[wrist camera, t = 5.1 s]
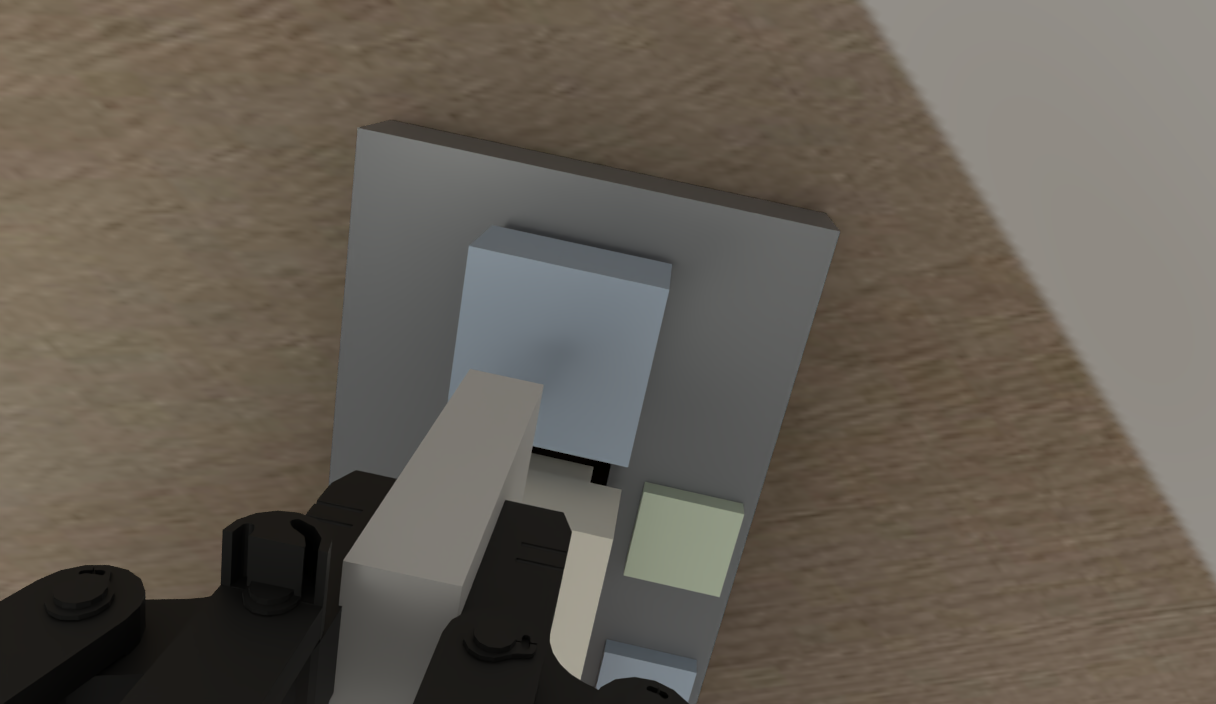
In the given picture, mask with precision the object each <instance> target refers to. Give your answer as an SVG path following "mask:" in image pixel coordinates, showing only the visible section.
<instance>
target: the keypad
mask: <svg viewBox="0 0 1216 704" xmlns="http://www.w3.org/2000/svg"><path fill="white" fill-rule="evenodd" d="M492 225H494V226H499V227H504V228H508V229H513V230H517V231H522V232H527V233H531V234H536V235H540V236H545V237H550V238H554V239H559V240H563V241H568V242H573V243H577V244H582V245H586V246H591V247H596V248H600V249H605V250H609V251H614V252H619V253H623V254H628V255H632V256H637V257H642V258H646V259H651V260H655V261H660V262H665V263H669V264H672V271H671V280H670V289H669V294H668V298H667V302H666V306H665V311H664V315H663V319H662V324H661V328H660V332H659V336H658V341H657V345H656V349H655V354H654V358H653V362H652V367H651V371H650V375H649V379H648V384H647V388H646V392H645V397H644V401H643V405H642V409H641V414H640V418H639V422H638V427H637V431H636V435H635V439H634V444H633V448H632V452H631V457H630V461H629V465H628V467H624V466H619V465H615V464H610V469H609V473H608V478H607V482H606V486H608V487H612V488H617V489H621V490H622V491H621V496H620V502H619V508H618V514H617V520H616V526H615V532H614V538H613V543H612V547H611V551H610V556H609V560H608V564H607V568H606V573H605V577H604V581H603V586H602V590H601V594H600V598H599V603H598V607H597V611H596V615H595V620H594V624H593V628H592V633H591V637H590V641H589V645H588V650H587V654H586V658H585V662H584V667H583V671H582V675H581V681H583V682H584V683H586V684H588V685H590V686H592V687H594V688H596V689H598V690H599V689H600V687H602V686H604V685H605V684H607V683H609V682H611V681H613V680H615V679H620V678H629V677H638V678H644V679H649V680H655V681H657V682H659V683H661V684H663V685H665V686H667V687H669V688H671V689H673V690H675V691H676V692H677V693H678V694H679V695H680V696H681V697H682V698H683V699H685V700H686V701H687V702H688V703H689V704H696V703H697V700H698V697H699V693H700V690H701V687H702V683H703V680H704V677H705V674H706V670H707V667H708V664H709V660H710V657H711V654H712V651H713V647H714V644H715V641H716V638H717V634H718V631H719V628H720V624H721V621H722V618H723V615H724V611H725V608H726V605H727V601H728V598H729V595H730V592H731V588H732V585H733V582H734V578H735V575H736V572H737V569H738V565H739V562H740V559H741V555H742V552H743V549H744V546H745V542H746V539H747V536H748V532H749V529H750V526H751V523H752V519H753V516H754V513H755V510H756V506H757V503H758V500H759V496H760V493H761V490H762V487H763V483H764V480H765V477H766V473H767V470H768V467H769V464H770V460H771V457H772V454H773V450H774V447H775V444H776V441H777V437H778V434H779V431H780V427H781V424H782V421H783V418H784V414H785V411H786V408H787V405H788V401H789V398H790V395H791V391H792V388H793V385H794V382H795V378H796V375H797V372H798V368H799V365H800V362H801V359H802V355H803V352H804V349H805V345H806V342H807V339H808V336H809V332H810V329H811V326H812V322H813V319H814V316H815V313H816V309H817V306H818V303H819V300H820V296H821V293H822V290H823V286H824V283H825V280H826V277H827V273H828V270H829V267H830V263H831V260H832V257H833V254H834V250H835V247H836V244H837V240H838V237H839V234H840V231H839V229H838V228H837V227H836V226H835V224H834V223H833V222H832V220H831V219H830V218H829V217H828V215H827V214H826V213H822V212H817V211H812V210H808V209H803V208H798V207H794V206H789V205H785V204H780V203H775V202H771V201H766V200H761V199H757V198H752V197H747V196H743V195H738V194H733V193H729V192H724V191H719V190H715V189H710V188H705V187H701V186H696V185H691V184H687V183H682V182H677V181H673V180H668V179H663V178H659V177H654V176H649V175H645V174H640V173H635V172H631V171H626V170H622V169H617V168H612V167H608V166H603V165H598V164H594V163H589V162H584V161H580V160H575V159H570V158H566V157H561V156H556V155H552V154H547V153H542V152H538V151H533V150H528V149H524V148H519V147H514V146H510V145H505V144H500V143H496V142H491V141H486V140H482V139H477V138H472V137H468V136H463V135H458V134H454V133H449V132H445V131H440V130H435V129H431V128H426V127H421V126H417V125H412V124H407V123H403V122H398V121H393V120H388V121H384V122H380V123H375V124H371V125H367V126H363V127H359V128H358V130H357V143H356V155H355V167H354V180H353V192H352V204H351V217H350V229H349V241H348V254H347V266H346V279H345V291H344V303H343V316H342V328H341V340H340V353H339V365H338V377H337V390H336V402H335V414H334V427H333V439H332V451H331V464H330V476H329V485H330V484H331V483H332V482H334V481H336V480H338V479H340V478H342V477H343V476H345V475H347V474H349V473H351V472H353V471H355V470H359V471H363V472H368V473H373V474H377V475H382V476H386V477H391V478H396V479H397V478H398V477H399V475H400V474H401V472H402V471H403V469H404V468H405V466H406V465H407V463H408V462H409V460H410V459H411V457H412V456H413V454H414V453H415V451H416V450H417V448H418V447H419V445H420V444H421V442H422V441H423V439H424V438H425V436H426V435H427V433H428V432H429V430H430V429H431V427H432V426H433V424H434V423H435V421H436V420H437V418H438V416H439V415H440V413H441V412H442V410H443V409H444V407H445V406H446V404H447V403H448V395H449V388H450V381H451V373H452V366H453V359H454V351H455V344H456V337H457V329H458V322H459V315H460V307H461V300H462V293H463V285H464V278H465V271H466V263H467V256H468V249H469V245H470V244H472V243H473V242H474V241H475V240H476V239H477V238H478V237H480V236H481V235H482V234H483V233H484V232H485V231H486V230H488V229H489V228H490V227H491V226H492ZM329 701H330V700H329ZM328 704H329V702H328Z"/></svg>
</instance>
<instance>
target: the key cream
mask: <svg viewBox="0 0 1216 704" xmlns="http://www.w3.org/2000/svg"><path fill="white" fill-rule="evenodd" d="M593 468H594V467H592V466H588V465H583V464H579V463H574V462H570V461H566V460H561V459H557V458H552V457H548V456H543V455H539V454H534V453H531V458H530V463H529V469H528V474H527V480H526V485H525V490H524V496H523V501H522V504H527V505H532V506H536V507H541V508H546V509H550V510H555V511H560V512H564V514H565V517H566V519H567V521H568V524H569V526H570V528H571V531H572V535H571V540H570V544H569V549H568V554H567V559H566V563H565V568H564V573H563V577H562V582H561V587H560V592H559V596H558V601H557V606H556V610H555V615H554V619H553V624H552V628H551V633H550V644H551V648H552V651H553V654H554V655H555V657H556V658H557V660H558V661H559V663H560V664H561V665H562V666H563V667H564V668H565V669H566V670H567V671H568V672H569V673H570V674H572V675H573V676H575V677H576V678H578V679H580V680H581V675H582V671H583V667H584V662H585V658H586V654H587V650H588V645H589V641H590V637H591V633H592V628H593V624H594V620H595V615H596V611H597V607H598V603H599V598H600V594H601V590H602V586H603V581H604V577H605V573H606V568H607V564H608V560H609V556H610V551H611V547H612V543H613V538H614V532H615V526H616V520H617V514H618V508H619V502H620V496H621V491H622V490H621V489H617V488H612V487H608V486H603V485H599V484H594V483H590V481H591V477H592V472H593Z"/></svg>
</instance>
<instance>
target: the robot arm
mask: <svg viewBox="0 0 1216 704" xmlns="http://www.w3.org/2000/svg"><path fill="white" fill-rule="evenodd" d="M543 387H544V385H543V384H538V383H534V382H529V381H524V380H520V379H515V378H510V377H506V376H501V375H496V374H492V373H487V372H482V371H478V370H473V369H470V370H469V371H468V373H467V374H466V376H465V377H464V379H463V380H462V382H461V383H460V385H459V386H458V388H457V389H456V391H455V392H454V394H453V395H452V397H451V398H450V400H449V401H448V403H447V404H446V406H445V407H444V409H443V410H442V412H441V413H440V415H439V416H438V418H437V420H436V421H435V423H434V424H433V426H432V427H431V429H430V430H429V432H428V433H427V435H426V436H425V438H424V439H423V441H422V442H421V444H420V445H419V447H418V448H417V450H416V451H415V453H414V454H413V456H412V457H411V459H410V460H409V462H408V463H407V465H406V466H405V468H404V469H403V471H402V472H401V474H400V475H399V477H398V478H397V479H396V478H391V477H386V476H382V475H377V474H373V473H368V472H363V471H359V470H355V471H353V472H351V473H349V474H347V475H345V476H343V477H342V478H340V479H338V480H336V481H334V482H332V483H331V484H330V485H329V486H328V488H327V489H326V490H325V491H324V493H323V494H322V495H321V496H320V498H319V499H318V500H317V504H314V505H313V506H312V507H311V509H310V510H309V511H308V512H307V514H306V515H303V514H301V513H296V512H285V511H271V512H262V513H255V514H252V515H249V516H246V517H244V518H241V519H238V520H236V521H235V522H233V523H232V524H230V525H229V526H227V527H226V528H225V529H223V539H222V567H221V585H220V586H219V588H218V589H217V590H216V591H215V592H214V593H213V595H212V596H210V597H205V598H194V599H160V600H145V589H144V586H143V583H142V581H141V579H140V578H139V577H137V576H136V575H134V574H133V573H132V572H130V571H129V570H126V569H122V568H118V567H114V566H110V565H84V566H79V567H75V568H70V569H65V570H60V571H58V572H55V573H53V574H51V575H48V576H46V577H44V578H41V579H39V580H37V581H35V582H33V583H32V584H30V585H28V586H26V587H25V588H23V589H21V590H19V591H18V592H16V593H14V594H12V595H11V596H9V597H7V598H5V599H4V600H2V601H0V704H328V702H329V704H689V703H688V702H687V701H686V700H685V699H683V698H682V697H681V696H680V695H679V694H678V693H677V692H676V691H675V690H673V689H671V688H669V687H667V686H665V685H663V684H661V683H659V682H657V681H655V680H649V679H644V678H638V677H629V678H620V679H615V680H613V681H611V682H609V683H607V684H605V685H604V686H602V687H600V689H599V690H598V689H596V688H594V687H592V686H590V685H588V684H586V683H584V682H583V681H581V680H580V679H578V678H576V677H575V676H573V675H572V674H570V673H569V672H568V671H567V670H566V669H565V668H564V667H563V666H562V665H561V664H560V663H559V661H558V660H557V658H556V657H555V655H554V654H553V651H552V648H551V644H550V633H551V628H552V624H553V619H554V615H555V610H556V606H557V601H558V596H559V592H560V587H561V582H562V577H563V573H564V568H565V563H566V559H567V554H568V549H569V544H570V540H571V535H572V531H571V528H570V526H569V524H568V521H567V519H566V517H565V514H564V512H560V511H555V510H550V509H546V508H541V507H536V506H532V505H527V504H522V501H523V496H524V490H525V485H526V480H527V474H528V469H529V463H530V458H531V452H532V447H533V441H534V436H535V431H536V425H537V420H538V414H539V409H540V403H541V398H542V392H543ZM329 700H330V701H329Z"/></svg>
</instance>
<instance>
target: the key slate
mask: <svg viewBox="0 0 1216 704" xmlns="http://www.w3.org/2000/svg"><path fill="white" fill-rule="evenodd" d="M671 271H672V264H669V263H665V262H660V261H655V260H651V259H646V258H642V257H637V256H632V255H628V254H623V253H619V252H614V251H609V250H605V249H600V248H596V247H591V246H586V245H582V244H577V243H573V242H568V241H563V240H559V239H554V238H550V237H545V236H540V235H536V234H531V233H527V232H522V231H517V230H513V229H508V228H504V227H499V226H494V225H492V226H491V227H490V228H489V229H488V230H486V231H485V232H484V233H483V234H482V235H481V236H480V237H478V238H477V239H476V240H475V241H474V242H473V243H472V244H470V245H469V249H468V256H467V263H466V271H465V278H464V285H463V293H462V300H461V307H460V315H459V322H458V329H457V337H456V344H455V351H454V359H453V366H452V373H451V381H450V388H449V395H448V401H449V400H450V398H451V397H452V395H453V394H454V392H455V391H456V389H457V388H458V386H459V385H460V383H461V382H462V380H463V379H464V377H465V376H466V374H467V373H468V371H469V370H470V369H473V370H478V371H482V372H487V373H492V374H496V375H501V376H506V377H510V378H515V379H520V380H524V381H529V382H534V383H538V384H543V385H544V387H543V392H542V398H541V403H540V409H539V414H538V420H537V425H536V431H535V436H534V441H533V446H534V447H539V448H543V449H548V450H552V451H557V452H561V453H566V454H570V455H575V456H579V457H584V458H588V459H593V460H597V461H601V462H606V463H610V464H615V465H619V466H624V467H628V465H629V461H630V457H631V452H632V448H633V444H634V439H635V435H636V431H637V427H638V422H639V418H640V414H641V409H642V405H643V401H644V397H645V392H646V388H647V384H648V379H649V375H650V371H651V367H652V362H653V358H654V354H655V349H656V345H657V341H658V336H659V332H660V328H661V324H662V319H663V315H664V311H665V306H666V302H667V298H668V294H669V289H670V280H671Z"/></svg>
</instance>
